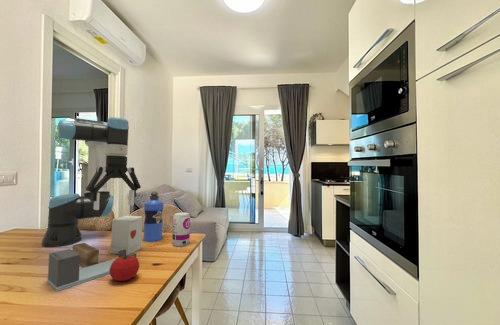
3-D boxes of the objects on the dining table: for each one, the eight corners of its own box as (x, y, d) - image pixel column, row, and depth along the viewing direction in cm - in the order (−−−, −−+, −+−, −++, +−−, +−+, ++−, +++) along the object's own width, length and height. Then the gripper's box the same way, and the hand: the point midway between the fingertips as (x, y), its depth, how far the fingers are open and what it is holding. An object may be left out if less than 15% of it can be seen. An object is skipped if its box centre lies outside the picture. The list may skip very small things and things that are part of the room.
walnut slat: (86, 269, 82) (86, 252, 83) (71, 260, 90) (72, 245, 91) (98, 265, 86) (98, 249, 86) (83, 257, 94) (84, 242, 94)
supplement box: (127, 255, 96) (129, 220, 96) (109, 253, 98) (111, 218, 98) (142, 248, 105) (143, 216, 105) (125, 247, 106) (126, 215, 107)
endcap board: (47, 281, 73) (48, 253, 73) (123, 258, 92) (124, 236, 93) (57, 291, 67) (58, 260, 67) (136, 264, 87) (137, 241, 87)
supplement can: (192, 242, 114) (193, 213, 114) (181, 247, 106) (182, 215, 107) (180, 240, 117) (181, 211, 118) (168, 245, 110) (169, 214, 110)
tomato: (136, 283, 72) (137, 258, 73) (105, 287, 70) (106, 260, 70) (141, 271, 81) (142, 249, 81) (113, 274, 78) (114, 251, 79)
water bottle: (139, 240, 116) (140, 192, 117) (152, 235, 125) (154, 190, 126) (153, 242, 113) (154, 192, 114) (166, 237, 122) (167, 191, 123)
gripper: (86, 153, 80) (83, 212, 80) (150, 157, 101) (148, 204, 100) (77, 153, 84) (74, 210, 84) (140, 157, 105) (138, 203, 105)
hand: (114, 207), depth 92 cm, fingers open, 13 cm apart
